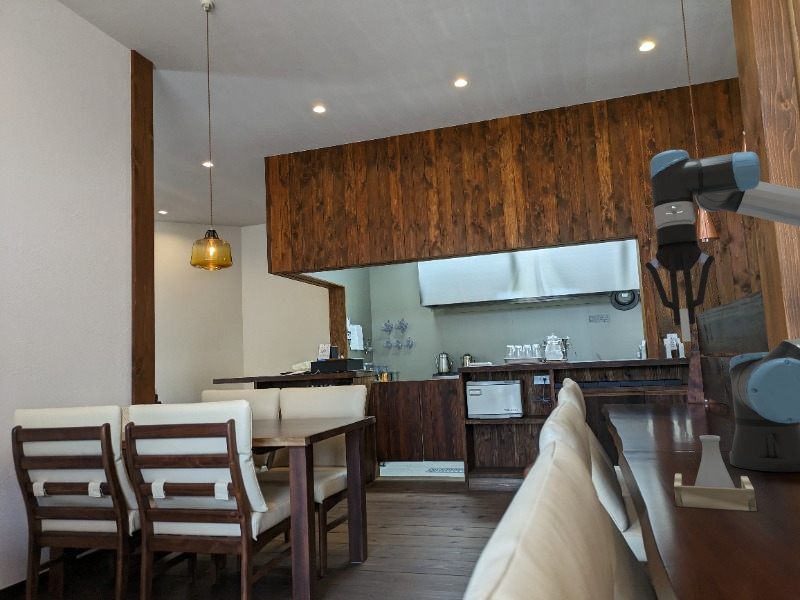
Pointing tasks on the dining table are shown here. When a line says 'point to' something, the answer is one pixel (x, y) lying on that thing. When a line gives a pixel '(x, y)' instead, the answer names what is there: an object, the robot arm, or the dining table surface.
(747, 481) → the caddy
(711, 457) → the flask
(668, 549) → the dining table surface
